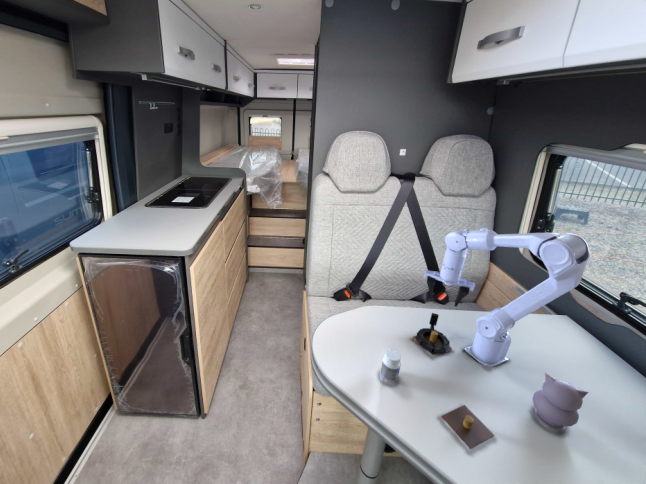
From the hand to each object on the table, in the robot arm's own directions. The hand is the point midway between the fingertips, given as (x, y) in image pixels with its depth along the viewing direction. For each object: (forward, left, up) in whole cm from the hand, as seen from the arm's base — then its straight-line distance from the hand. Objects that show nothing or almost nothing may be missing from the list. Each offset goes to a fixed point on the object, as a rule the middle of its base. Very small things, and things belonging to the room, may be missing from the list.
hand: (442, 301), depth 103 cm
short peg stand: (+23, +30, -10) cm, 39 cm away
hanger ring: (+9, +6, -8) cm, 13 cm away
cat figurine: (+2, +36, -10) cm, 37 cm away
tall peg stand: (+10, +7, -10) cm, 15 cm away
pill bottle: (+31, +12, -10) cm, 34 cm away
